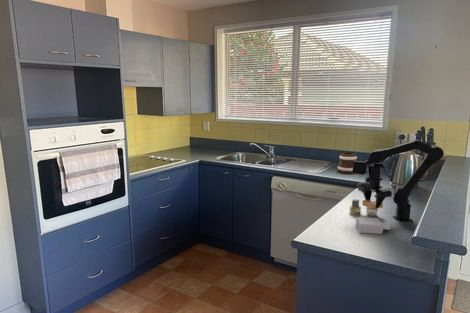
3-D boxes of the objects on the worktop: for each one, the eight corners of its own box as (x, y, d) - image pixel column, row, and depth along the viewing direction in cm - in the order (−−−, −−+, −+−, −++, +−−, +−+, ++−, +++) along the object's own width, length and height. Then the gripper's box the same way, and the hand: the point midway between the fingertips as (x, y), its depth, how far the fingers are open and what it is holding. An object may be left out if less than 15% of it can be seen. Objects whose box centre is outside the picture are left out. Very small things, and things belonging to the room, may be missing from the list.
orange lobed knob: (377, 214, 171) (378, 200, 170) (377, 217, 166) (378, 203, 165) (366, 212, 173) (367, 198, 172) (366, 216, 168) (366, 201, 167)
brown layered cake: (358, 174, 259) (359, 155, 257) (338, 173, 262) (339, 154, 260) (355, 169, 278) (356, 151, 276) (336, 168, 281) (336, 150, 279)
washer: (382, 207, 167) (382, 202, 166) (371, 208, 165) (371, 204, 164) (373, 203, 173) (373, 199, 173) (362, 204, 171) (362, 200, 171)
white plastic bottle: (396, 236, 145) (359, 233, 147) (389, 227, 154) (355, 225, 156) (396, 225, 144) (360, 223, 146) (390, 218, 153) (356, 216, 155)
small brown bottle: (361, 212, 174) (361, 199, 173) (359, 215, 169) (360, 202, 168) (350, 210, 176) (351, 198, 175) (348, 213, 172) (349, 200, 171)
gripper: (348, 173, 173) (347, 202, 175) (374, 181, 155) (372, 213, 158) (366, 171, 176) (364, 200, 179) (393, 179, 159) (391, 211, 161)
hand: (372, 206), depth 169 cm, fingers closed on washer, 7 cm apart
